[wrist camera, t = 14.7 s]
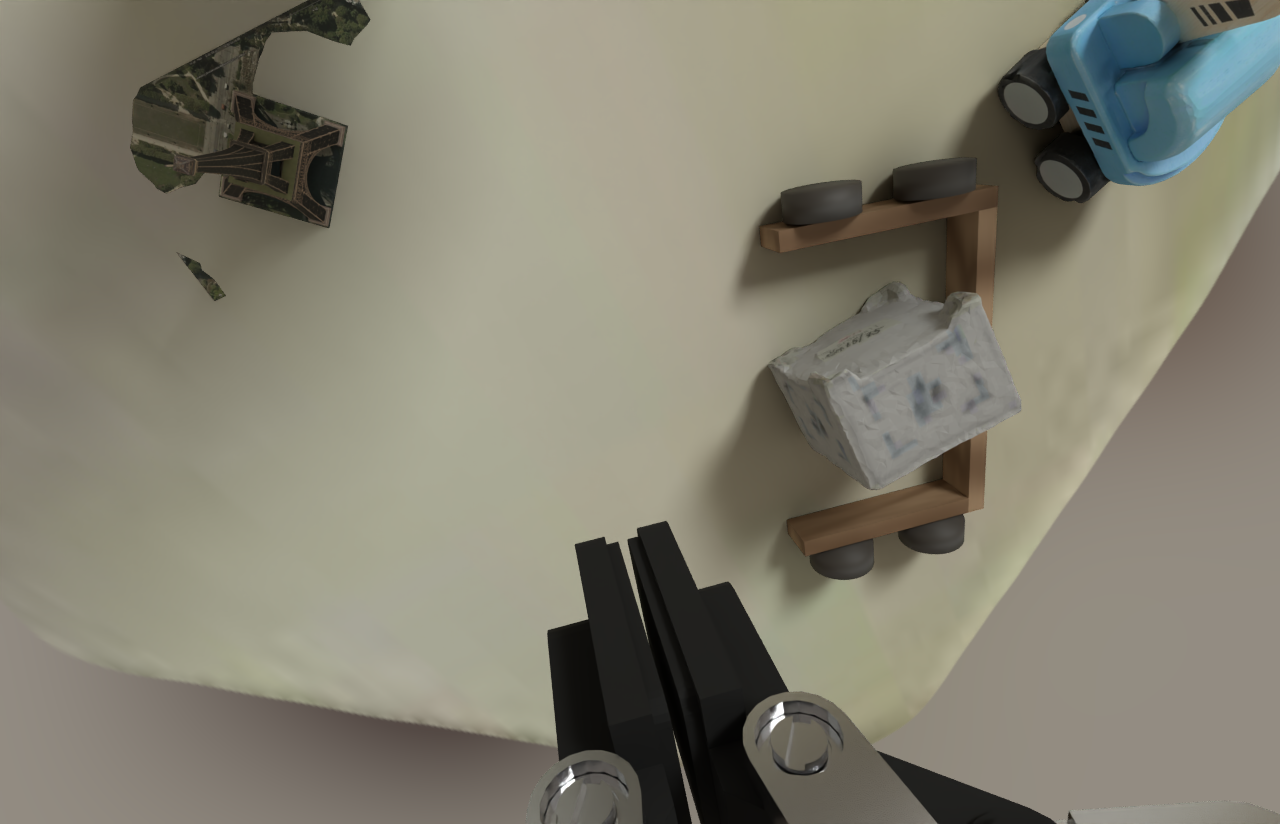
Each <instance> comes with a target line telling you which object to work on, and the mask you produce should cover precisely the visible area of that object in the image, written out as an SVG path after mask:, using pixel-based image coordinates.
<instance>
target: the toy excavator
mask: <svg viewBox="0 0 1280 824" xmlns="http://www.w3.org/2000/svg"><path fill="white" fill-rule="evenodd" d="M1279 65H1280V0H1086V1H1085V4H1084V5H1083V6H1082V7H1081V8H1080V9H1079V10H1078V11H1077V12H1076V13H1075V14H1074V15H1073V16H1072V17H1070V18H1069V19H1068V20H1067V21H1066V22H1065V23H1064V24H1063V25H1062V26H1061V27H1060V28H1059V29H1058V30H1057V31H1056V32H1055V33H1054V34H1053V35H1052V36H1051V37H1050V38H1049V39H1048V40H1047V41H1046V42H1045V43H1044V44H1043V45H1042V46H1041V47H1040V48H1039V49H1038V50H1032V51H1030V52H1028V53H1027V54H1026V55H1024V57H1023V58H1022V59H1021V60H1020V61H1019V62H1018V63H1017V64H1016V65H1015V66H1014V67H1013V68H1012V69H1011V70H1010V71H1009V72H1008V73H1007V74H1006V75H1004V76H1003V78H1002V79H1001V81H1000V83H999V86H998V88H999V89H998V93H999V97H1000V100H1001V102H1002V105H1003V106H1004V108H1006V110H1007V111H1009V112H1010V115H1011V116H1012V117H1013V118H1014V119H1016V120H1017V121H1019V122H1020V123H1021V124H1024V126H1026V127H1028V128H1032V129H1037V130H1042V129H1047V128H1051V127H1052V126H1054V125H1055V124H1056V123H1057V122H1058V121H1060V123H1061V125H1062V127H1063V130H1064V132H1065V133H1062V134H1060V135H1059V136H1058V137H1057V138H1056V139H1055V140H1054V141H1053V142H1052V143H1051V144H1049V145H1048V146H1047V147H1046V148H1045V149H1044V150H1043V151H1042V152H1041V153H1039V154H1038V155H1037V157H1036V159H1035V164H1036V165H1037V167H1038V171H1037V178H1038V180H1039V182H1040V183H1042V184H1043V186H1044V187H1045V188H1046V190H1048V191H1049V192H1050V193H1052V194H1053V195H1054V196H1056V197H1058V198H1060V199H1062V200H1064V201H1067V202H1068V201H1076V202H1078V203H1083V202H1085V201H1087V200H1089V199H1090V198H1091V197H1092V196H1093V195H1094V194H1096V193H1097V192H1098V191H1099V190H1100V189H1101V188H1102V187H1104V186H1105V185H1106V184H1107V183H1108V182H1109V181H1112V182H1115V183H1118V184H1124V185H1135V186H1144V185H1151V184H1155V183H1158V182H1161V181H1164V180H1166V179H1169V178H1171V177H1173V176H1174V175H1176V174H1178V173H1179V172H1181V171H1182V170H1184V169H1185V168H1186V167H1187V166H1189V165H1190V164H1191V163H1192V162H1193V161H1194V160H1195V159H1197V158H1198V157H1199V156H1200V154H1201V153H1202V152H1203V151H1204V150H1205V149H1206V147H1207V146H1208V145H1209V143H1210V142H1211V141H1212V139H1213V138H1214V136H1215V135H1216V133H1217V131H1218V130H1219V128H1220V127H1221V125H1222V123H1223V120H1224V118H1225V117H1226V116H1227V115H1228V114H1229V113H1230V112H1231V111H1233V110H1234V109H1235V108H1236V107H1237V106H1238V105H1240V104H1241V103H1242V102H1243V101H1244V100H1246V99H1247V98H1248V97H1249V96H1250V95H1251V94H1253V93H1254V92H1255V91H1256V90H1257V89H1258V88H1260V87H1261V86H1262V85H1263V84H1264V83H1265V82H1266V81H1267V80H1268V79H1269V78H1270V77H1271V76H1272V75H1273V74H1274V73H1275V71H1276V70H1277V68H1278V67H1279Z"/></svg>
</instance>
